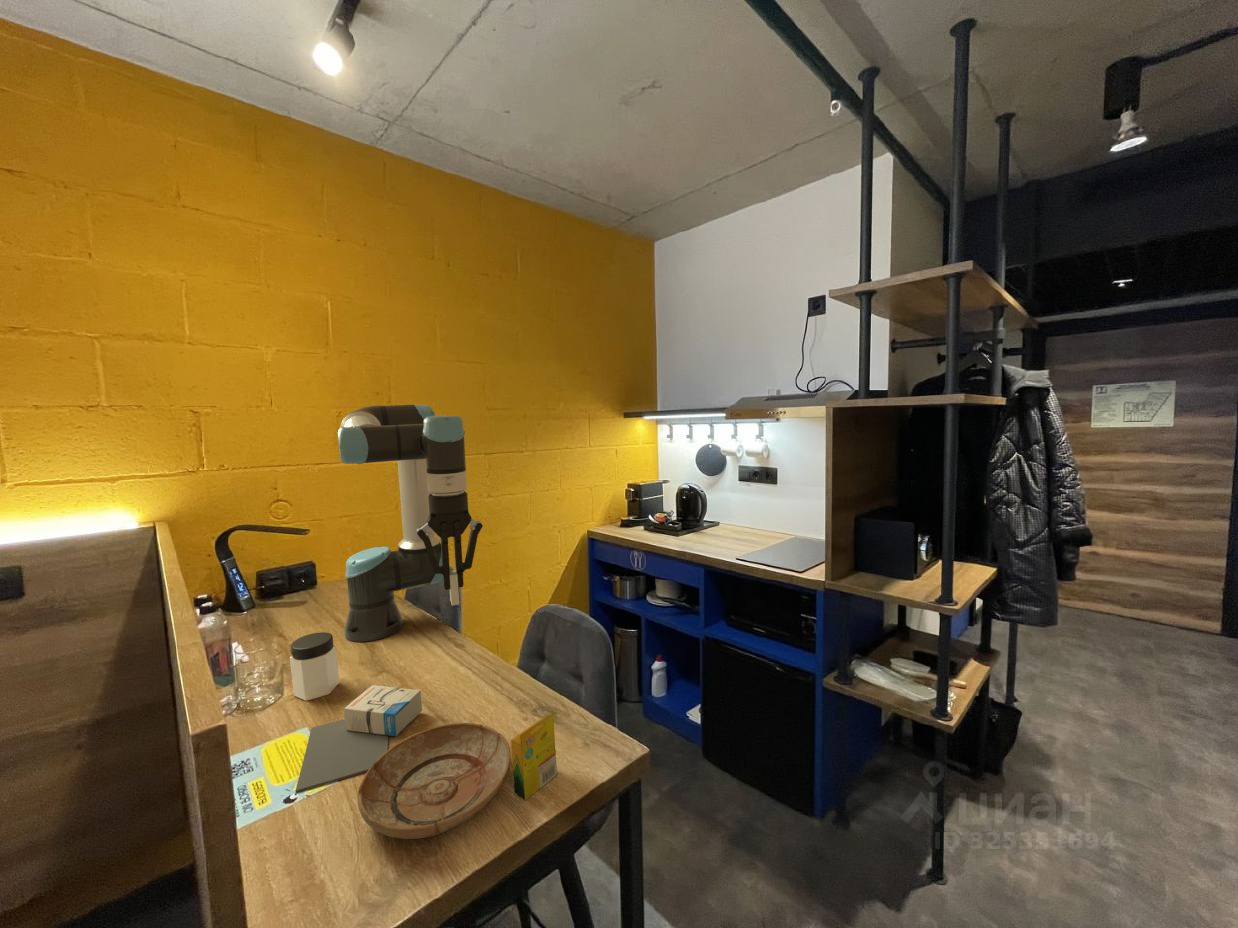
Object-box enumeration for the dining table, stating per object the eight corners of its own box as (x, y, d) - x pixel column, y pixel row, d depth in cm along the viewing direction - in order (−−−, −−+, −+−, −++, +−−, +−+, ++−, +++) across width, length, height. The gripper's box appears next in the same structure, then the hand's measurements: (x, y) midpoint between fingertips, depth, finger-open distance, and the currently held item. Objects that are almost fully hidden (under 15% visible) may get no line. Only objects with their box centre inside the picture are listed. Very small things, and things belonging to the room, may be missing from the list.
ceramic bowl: (403, 746, 93) (400, 721, 93) (525, 746, 93) (524, 721, 92) (327, 858, 70) (324, 826, 70) (489, 859, 70) (487, 827, 69)
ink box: (395, 714, 94) (342, 707, 97) (397, 738, 95) (344, 731, 97) (421, 688, 103) (371, 683, 105) (422, 710, 103) (373, 704, 106)
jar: (310, 679, 117) (305, 631, 115) (345, 677, 117) (340, 630, 116) (286, 702, 108) (280, 650, 107) (324, 700, 108) (318, 649, 107)
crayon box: (546, 767, 87) (543, 705, 85) (558, 774, 85) (555, 712, 84) (513, 793, 81) (509, 728, 80) (524, 801, 79) (521, 735, 78)
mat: (311, 729, 99) (311, 727, 99) (388, 709, 104) (388, 708, 104) (295, 792, 82) (295, 790, 82) (387, 765, 88) (387, 763, 88)
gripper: (413, 498, 93) (422, 615, 97) (483, 492, 98) (489, 603, 102) (412, 491, 100) (420, 601, 103) (478, 486, 105) (483, 590, 109)
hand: (454, 602), depth 103 cm, fingers closed
